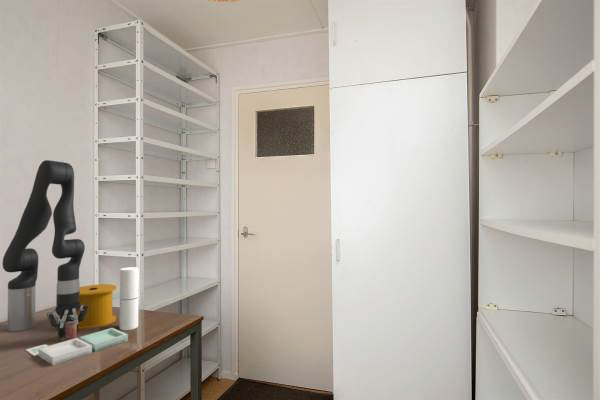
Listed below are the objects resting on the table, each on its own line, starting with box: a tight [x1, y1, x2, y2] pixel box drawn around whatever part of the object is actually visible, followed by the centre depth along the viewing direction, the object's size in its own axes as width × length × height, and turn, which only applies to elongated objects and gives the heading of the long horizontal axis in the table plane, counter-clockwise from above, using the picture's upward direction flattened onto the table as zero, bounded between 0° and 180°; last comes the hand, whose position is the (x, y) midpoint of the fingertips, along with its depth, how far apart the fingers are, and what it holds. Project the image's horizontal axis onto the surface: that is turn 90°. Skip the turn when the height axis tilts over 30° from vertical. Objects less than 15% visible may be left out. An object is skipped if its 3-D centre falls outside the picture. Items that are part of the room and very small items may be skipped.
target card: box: [25, 343, 49, 357], centre depth 125 cm, size 8×6×1 cm
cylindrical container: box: [119, 266, 140, 331], centre depth 148 cm, size 7×7×25 cm
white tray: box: [38, 337, 93, 366], centre depth 122 cm, size 12×12×2 cm
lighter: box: [57, 315, 78, 342], centre depth 135 cm, size 8×3×10 cm, turn 71°
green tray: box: [79, 327, 129, 352], centre depth 132 cm, size 12×12×2 cm
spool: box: [77, 283, 117, 330], centre depth 154 cm, size 18×18×15 cm
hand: (67, 335), depth 135 cm, fingers closed on lighter, 3 cm apart
